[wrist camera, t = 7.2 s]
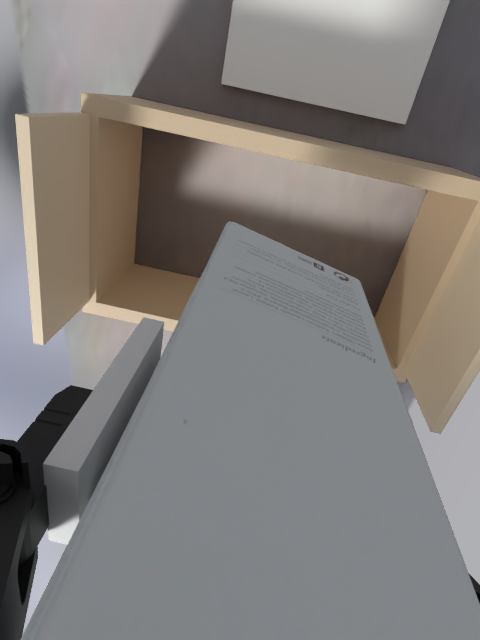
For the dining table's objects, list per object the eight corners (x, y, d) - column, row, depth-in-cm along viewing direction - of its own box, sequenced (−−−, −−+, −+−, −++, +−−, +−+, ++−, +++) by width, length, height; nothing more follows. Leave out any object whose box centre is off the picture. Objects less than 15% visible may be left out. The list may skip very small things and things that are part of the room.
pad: (402, 124, 28) (405, 124, 27) (222, 84, 28) (221, 83, 27) (469, -64, 23) (475, -70, 22) (251, -113, 23) (250, -119, 22)
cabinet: (382, 329, 35) (433, 445, 23) (121, 271, 35) (34, 357, 23) (453, 167, 29) (576, 212, 16) (130, 96, 29) (13, 87, 16)
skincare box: (228, 215, 15) (-256, 957, 2) (370, 280, 15) (799, 1236, 2) (163, 375, 19) (-138, 972, 6) (277, 423, 19) (238, 1073, 6)
